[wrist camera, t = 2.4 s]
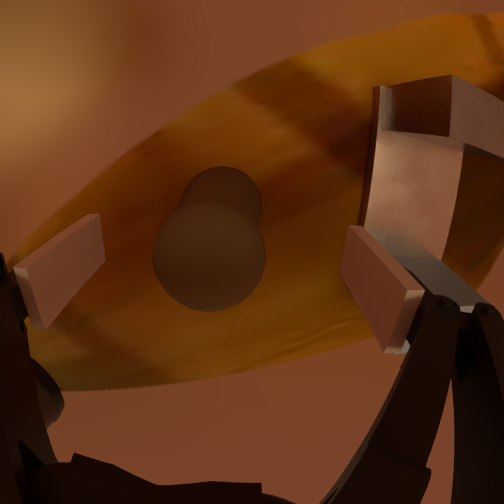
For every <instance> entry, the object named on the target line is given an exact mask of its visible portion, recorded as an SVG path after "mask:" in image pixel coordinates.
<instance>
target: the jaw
mask: <svg viewBox="0 0 504 504" xmlns="http://www.w3.org/2000/svg"><path fill="white" fill-rule="evenodd" d="M394 258H395V259H396V260H397V261H398V262H399V263H400V264H401V265H402V266H403V267H405V268H407V269H408V270H410V271H412V272H413V273H414V274H415V275H416V276H417V277H418V279H420V281H421V282H422V284H424V285H425V286H426V287H427V288H428V289H429V290H430V291H431V292H432V293H433V294H434V295H443V296H446V297H449V298H451V299H452V300H454V301H455V302H457V304H458V305H459V306H460V311H463V312H468V313H472V311H473V308H474V306H475V304H476V303H479V302H482V303H487V304H488V303H489V302H487V301H486V300H485V299H484V298H483V297H482V296H481V295H480V294H479V293H478V292H476V291H475V290H474V289H473V288H472V287H471V286H470V285H469V284H467V283H466V282H465V281H464V280H463V279H462V278H460V277H459V276H458V275H457V274H456V273H455V272H453V271H452V270H451V269H450V268H449V267H447V266H446V265H445V264H444V263H442V262H441V261H440V260H439V259H434V258H411V257H394ZM409 348H410V345H409V343H408V341H407V340H405V343H404V345H403V347H402V350H401V352H394V353H392V354H401V353H407V352H408V350H409Z"/></svg>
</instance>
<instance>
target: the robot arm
mask: <svg viewBox="0 0 504 504" xmlns="http://www.w3.org/2000/svg"><path fill="white" fill-rule="evenodd" d="M105 261H106V257H105V250H104V243H103V235H102V227H101V217H100V214H87V215H86V216H84V217H83V218H81V219H80V220H78V221H77V222H75V223H74V224H72V225H71V226H69V227H68V228H66V229H65V230H63V231H62V232H60V233H59V234H57V235H56V236H55V237H53V238H52V239H50V240H49V241H47V242H46V243H45V244H43V245H42V246H41V247H39V248H38V249H36V250H35V251H34V252H32V253H31V254H30V255H28V256H27V257H26V258H24V259H23V260H22V261H21V262H19V263H18V264H17V265H15V266H14V267H13V268H14V269H13V270H12V271H11V272H10V273H8V271H7V268H6V264H5V260H4V256H3V253H1V252H0V504H295V503H293V502H291V501H288V500H286V499H283V498H280V497H277V496H273V495H269V494H264V493H262V487H261V483H234V482H215V481H208V482H200V483H191V484H178V485H156V484H153V483H151V482H148V481H146V480H144V479H142V478H140V477H137V476H135V475H133V474H131V473H129V472H127V471H125V470H123V469H121V468H119V467H117V466H115V465H113V464H109V463H106V462H102V461H99V460H96V459H92V458H89V457H86V456H83V455H80V454H77V453H74V454H73V457H72V460H71V462H66V463H64V462H62V463H59V462H58V461H57V459H56V457H55V454H54V452H53V449H52V446H51V444H50V440H49V437H48V434H47V430H46V429H47V428H48V427H49V426H50V425H51V424H52V423H53V422H55V421H56V420H57V419H58V418H59V417H60V415H61V412H62V410H63V408H64V399H63V397H62V394H61V392H60V390H59V389H58V387H57V386H56V384H55V383H54V382H53V380H52V379H51V378H50V377H49V376H48V374H47V373H46V372H45V371H44V370H43V369H42V368H41V367H40V366H39V365H38V364H37V363H36V362H34V361H33V360H32V359H31V358H30V352H29V344H28V336H27V328H26V325H25V323H24V320H25V318H26V317H27V316H29V319H30V321H31V324H32V326H33V328H37V329H41V330H47V328H48V327H49V326H50V324H51V323H52V322H53V321H54V320H55V318H56V317H57V316H58V315H59V313H60V312H61V311H62V310H63V309H64V307H65V306H66V305H67V304H68V303H69V301H70V300H71V299H72V298H73V297H74V295H75V294H76V293H77V292H78V291H79V290H80V289H81V287H82V286H83V285H84V284H85V283H86V282H87V281H88V279H89V278H90V277H91V276H92V275H93V274H94V273H95V272H96V271H97V270H98V268H99V267H100V266H101V265H102V264H103V263H104V262H105ZM339 273H340V274H341V276H342V278H343V280H344V281H345V283H346V285H347V287H348V288H349V290H350V292H351V294H352V295H353V297H354V299H355V301H356V302H357V304H358V306H359V308H360V310H361V312H362V313H363V315H364V317H365V319H366V321H367V322H368V324H369V326H370V328H371V330H372V332H373V334H374V336H375V337H376V339H377V341H378V343H379V345H380V347H381V349H382V351H383V352H384V353H394V352H401V350H402V347H403V345H404V343H405V340H407V341H408V343H409V345H410V348H409V350H408V352H407V355H406V356H405V359H404V361H403V363H402V365H401V367H400V371H399V373H398V375H397V377H396V379H395V382H394V384H393V386H392V388H391V390H390V392H389V394H388V396H387V398H386V400H385V402H384V404H383V406H382V408H381V410H380V412H379V414H378V416H377V417H376V419H375V421H374V423H373V425H372V426H371V428H370V430H369V432H368V434H367V435H366V437H365V439H364V440H363V442H362V444H361V445H360V447H359V448H358V450H357V452H356V453H355V455H354V456H353V458H352V460H351V461H350V463H349V464H348V466H347V467H346V469H345V470H344V472H343V473H342V475H341V476H340V478H339V479H338V481H337V482H336V483H335V485H334V486H333V487H332V489H331V490H330V491H329V492H328V494H327V495H326V496H325V497H324V499H323V500H322V501H321V502H320V503H319V504H420V503H421V500H422V498H423V495H424V493H425V491H426V488H427V486H428V483H429V480H430V477H431V469H429V468H426V463H427V460H428V457H429V454H430V452H431V449H432V446H433V443H434V440H435V437H436V434H437V430H438V427H439V424H440V420H441V416H442V413H443V409H444V405H445V401H446V397H447V393H448V389H449V384H450V379H451V381H452V391H453V406H454V437H455V442H454V443H455V444H454V445H455V447H454V448H455V449H454V472H453V473H454V474H453V486H452V497H451V504H504V320H503V318H502V316H501V314H500V312H499V311H498V310H497V309H496V308H495V307H494V306H493V305H491V304H489V303H488V304H487V303H482V302H479V303H476V304H475V306H474V308H473V311H472V313H468V312H463V311H460V306H459V305H458V304H457V302H455V301H454V300H452V299H451V298H449V297H446V296H443V295H434V294H433V293H432V292H431V291H430V290H429V289H428V288H427V287H426V286H425V285H424V284H422V282H421V281H420V279H418V277H417V276H416V275H415V274H414V273H413V272H412V271H410V270H408V269H407V268H405V267H403V266H402V265H401V264H400V263H399V262H398V261H397V260H396V259H395V258H394V257H393V256H392V255H391V254H390V253H389V252H388V251H387V250H386V249H385V248H384V247H383V246H382V245H381V244H380V243H379V242H378V241H377V240H376V239H375V238H374V237H373V236H371V235H370V234H369V233H368V232H367V231H366V230H365V229H364V228H363V227H362V226H356V225H348V229H347V235H346V240H345V246H344V251H343V256H342V261H341V266H340V271H339Z"/></svg>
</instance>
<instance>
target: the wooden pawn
mask: <svg viewBox="0 0 504 504" xmlns="http://www.w3.org/2000/svg"><path fill="white" fill-rule="evenodd" d="M261 209H262V204H261V195H260V193H259V191H258V189H257V186H256V184H255V183H254V182H253V181H252V180H251V179H250V178H249V177H248V176H247V175H246V174H244V173H243V172H241V171H239V170H237V169H235V168H229V167H224V166H221V167H214V168H209V169H207V170H205V171H203V172H201V173H199V174H198V175H197V176H195V177H194V178H193V179H192V180H191V181H190V182H189V184H188V186H187V188H186V190H185V192H184V195H183V199H182V203H181V206H180V208H178V209H176V210H175V211H174V212H173V213H172V214H171V215H170V216H169V217H168V218H167V219H166V220H165V221H164V222H163V224H162V225H161V226H160V229H159V231H158V233H157V235H156V237H155V240H154V248H153V265H154V269H155V273H156V277H157V278H158V280H159V282H160V283H161V285H162V286H163V288H164V289H165V291H166V292H167V293H168V294H169V295H170V296H172V297H173V298H174V299H175V300H176V301H177V302H179V303H181V304H183V305H185V306H187V307H189V308H191V309H195V310H201V311H207V312H208V311H219V310H224V309H226V308H229V307H232V306H234V305H237V304H239V303H240V302H242V301H243V300H244V299H246V298H247V297H248V296H249V295H251V294H252V292H253V291H254V289H255V288H256V286H257V285H258V283H259V282H260V280H261V277H262V274H263V270H264V266H265V262H266V257H265V247H264V241H263V238H262V236H261V233H260V231H259V229H258V227H257V226H258V222H259V218H260V213H261Z"/></svg>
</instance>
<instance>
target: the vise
mask: <svg viewBox="0 0 504 504" xmlns="http://www.w3.org/2000/svg"><path fill="white" fill-rule="evenodd" d="M463 152H465V153H469V154H474V155H478V156H482V157H486V158H490V159H494V160H498V161H501V162H504V102H503V101H501V100H499V99H498V98H496V97H494V96H493V95H491V94H489V93H487V92H485V91H484V90H482V89H480V88H478V87H476V86H474V85H472V84H470V83H468V82H466V81H464V80H462V79H460V78H458V77H456V76H454V75H446V76H440V77H434V78H428V79H422V80H417V81H412V82H407V83H402V84H397V85H393V86H388V87H384V86H381V85H380V86H376V87H374V94H373V110H372V123H371V135H370V145H369V154H368V163H367V171H366V179H365V186H364V193H363V200H362V206H361V213H360V219H359V224H358V226H362V227H363V228H364V229H365V230H366V231H367V232H368V233H369V234H370V235H371V236H373V237H374V238H375V239H376V240H377V241H378V242H379V243H380V244H381V245H382V246H383V247H384V248H385V249H386V250H387V251H388V252H389V253H390V254H391V255H392V256H393V257H411V258H434V259H439V260H440V261H441V259H442V255H443V252H444V248H445V244H446V240H447V237H448V233H449V228H450V224H451V220H452V215H453V211H454V206H455V201H456V196H457V190H458V184H459V178H460V172H461V164H462V157H463ZM346 287H347V285H346ZM347 288H348V287H347ZM348 290H349V288H348ZM349 292H350V290H349ZM350 293H351V292H350Z"/></svg>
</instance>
